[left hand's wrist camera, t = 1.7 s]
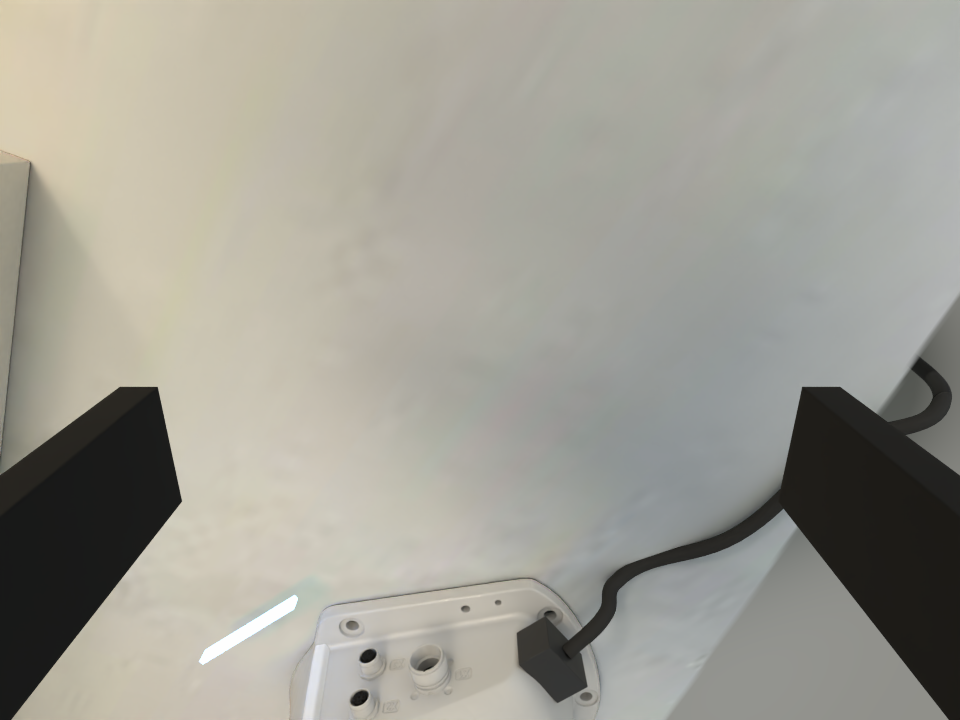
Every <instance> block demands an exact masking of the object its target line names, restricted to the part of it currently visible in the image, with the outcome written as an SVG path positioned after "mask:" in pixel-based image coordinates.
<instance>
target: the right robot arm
mask: <svg viewBox="0 0 960 720" xmlns="http://www.w3.org/2000/svg"><path fill="white" fill-rule="evenodd" d="M910 369H911V370H912V371H913V372H915V373H916V374H917V375H918V376H919V377H920V378H922V379H923V380H924V381H925V382H926V383H927V385H928V386H929V387H930V389H931V391H932V395H933V399H932V401H931V403H930V405H929V406H928V407H927V408H926V409H925V410H924V411H923V412H921V413H920V414H918V415H915V416H912V417H909V418H905V419H901V420H897V421H892V422H888V423H889V424H891V425H892V426H893V427H895V428H896V429H898V430H899V431H900V432H902V433H903V434H904V435H907V434H911V433H915V432H918V431H921V430H924V429H927V428H929V427H931V426H933V425H935V424H936V423H938V422H939V421H940V420H942V418H943V417H944V416H945V415H946V414H947V412H948V410H949V408H950V405H951V400H952V392H951V389H950V386H949V385H948V383H947V382H946V380H945V379H944V378H943V377H942V376H941V375H940V374H939V373H938V372H937V371H936V370H935V369H934V368H933V367H932V366H930V365H929V364H928V363H927V362H926V361H924V360H923V359H922V358H921V357H919V356H918V355H917V356H916V358H915V360H914V361H913V363H912V365H911V366H910ZM780 490H781V489H780ZM780 490H779V491H778V492H777V493H776V494H775V495H774V496H773V497H772V498H771V499H770V500H769V501H768V502H767V503H765V504H764V505H763V506H762V507H761V508H760V509H759V510H757V511H756V512H755V513H754V514H753V515H751V516H750V517H749V518H747V519H746V520H744V521H743V522H742V523H740V524H738V525H737V526H735V527H734V528H732V529H730V530H728V531H726V532H724V533H722V534H720V535H718V536H715V537H713V538H710V539H707V540H704V541H701V542H698V543H694V544H690V545H686V546H682V547H677V548H674V549H672V550H669V551H666V552H663V553H660V554H657V555H654V556H651V557H648V558H645V559H642V560H639V561H636V562H633V563H631V564H628V565H626V566H624V567H623V568H621V569H620V570H618V571H617V572H616V573H615V574H614V575H612V576H611V577H610V578H609V579H608V580H607V581H606V583H605V585H604V587H603V591H602V604H601V607H600V609H599V611H598V612H597V614H596V615H595V616H594V617H593V619H592V620H591V621H590V622H589V623H588V624H587V625H586V626H585V627H583V628H582V627H581V625H580V623H579V622H578V620H577V618H576V617H575V615H574V614H573V613H572V611H571V610H570V609H569V607H568V606H567V605H566V604H565V603H564V602H563V601H562V600H561V598H560V597H559V596H557V595H556V594H555V593H554V592H553V591H551V590H550V589H549V588H547V587H546V586H544V585H542V584H541V583H539V582H537V581H535V580H533V579H517V580H509V581H502V582H495V583H488V584H481V585H474V586H466V587H459V588H452V589H445V590H438V591H431V592H424V593H417V594H410V595H403V596H396V597H389V598H382V599H375V600H368V601H361V602H354V603H347V604H340V605H334V606H330V607H328V608H326V609H325V610H323V612H322V613H321V615H320V617H319V620H318V624H317V629H316V635H315V641H314V643H313V645H312V646H311V648H310V649H309V650H308V652H307V653H306V654H305V655H304V657H303V658H302V659H301V660H300V662H299V663H298V665H297V667H296V669H295V671H294V673H293V676H292V679H291V683H290V717H289V720H594V719H595V717H596V714H597V712H598V708H599V703H600V683H599V674H598V668H597V664H596V660H595V657H594V654H593V652H592V649H591V646H590V643H591V642H592V641H593V640H594V639H595V638H596V637H597V636H598V635H599V634H600V633H601V632H602V631H603V630H604V629H605V628H606V627H607V625H608V624H609V622H610V621H611V619H612V618H613V616H614V614H615V611H616V604H617V592H618V590H619V589H620V588H621V587H622V586H623V585H624V584H625V583H627V582H628V581H629V580H631V579H632V578H634V577H635V576H637V575H639V574H641V573H643V572H645V571H647V570H650V569H653V568H656V567H660V566H663V565H667V564H671V563H676V562H681V561H685V560H690V559H694V558H698V557H702V556H706V555H709V554H712V553H715V552H718V551H721V550H723V549H726V548H728V547H730V546H732V545H734V544H736V543H738V542H740V541H742V540H743V539H745V538H747V537H748V536H750V535H751V534H753V533H754V532H756V531H757V530H758V529H760V528H761V527H763V526H764V525H765V524H766V523H768V522H769V521H770V520H771V519H773V518H774V517H775V516H776V515H777V514H778V513H779V512H780V511H781V510H782V509H784V508H783V507H782V506H781V505H780V503H779V502H778V499H779V495H780ZM297 600H298V598H297V597H296V596H295V595H294V596H292V597H291V598H289V599H288V600H286V601H284V602H283V603H281V604H279V605H278V606H276V607H275V608H273V609H271V610H270V611H268V612H266V613H265V614H263V615H261V616H260V617H258V618H257V619H255V620H253V621H252V622H250V623H248V624H247V625H245V626H244V627H242V628H240V629H239V630H237V631H235V632H234V633H232V634H230V635H229V636H227V637H226V638H224V639H222V640H221V641H219V642H217V643H216V644H214V645H213V646H211V647H209V648H208V649H206V650H205V651H204V653H203V655H202V657H201V659H200V661H199V662H201V663H202V664H204V663H206V662H208V661H209V660H211V659H213V658H214V657H216V656H217V655H219V654H221V653H222V652H224V651H226V650H227V649H229V648H231V647H232V646H234V645H236V644H237V643H239V642H241V641H242V640H244V639H245V638H247V637H249V636H250V635H252V634H254V633H255V632H257V631H259V630H260V629H262V628H264V627H265V626H267V625H269V624H270V623H272V622H273V621H275V620H277V619H278V618H280V617H282V616H283V615H285V614H287V613H288V612H290V611H292V610H293V609H294V608H295V605H296V602H297ZM546 611H552V612H546ZM352 621H356V622H352Z"/></svg>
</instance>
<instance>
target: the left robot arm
mask: <svg viewBox="0 0 960 720" xmlns="http://www.w3.org/2000/svg"><path fill="white" fill-rule="evenodd" d="M181 502H182V499H181V495H180V490H179V485H178V480H177V476H176V471H175V466H174V462H173V457H172V452H171V448H170V443H169V438H168V433H167V429H166V424H165V419H164V415H163V410H162V405H161V401H160V396H159V391H158V387H119V388H118V389H117V390H115V391H114V392H112V393H111V394H110V395H108V396H107V397H106V398H104V399H103V400H102V401H100V402H99V403H98V404H96V405H95V406H94V407H92V408H91V409H90V410H88V411H87V412H85V413H84V414H83V415H81V416H80V417H79V418H77V419H76V420H75V421H73V422H72V423H71V424H69V425H68V426H67V427H65V428H64V429H62V430H61V431H60V432H58V433H57V434H56V435H54V436H53V437H52V438H50V439H49V440H48V441H46V442H45V443H44V444H42V445H41V446H39V447H38V448H37V449H35V450H34V451H33V452H31V453H30V454H29V455H27V456H26V457H25V458H23V459H22V460H21V461H19V462H18V463H17V464H15V465H14V466H12V467H11V468H10V469H8V470H7V471H6V472H4V473H3V474H2V475H0V720H11V719H12V718H13V717H14V715H15V714H16V713H17V712H18V710H19V709H20V708H21V706H22V705H23V704H24V703H25V701H26V700H27V699H28V697H29V696H30V695H31V694H32V692H33V691H34V690H35V689H36V687H37V686H38V685H39V683H40V682H41V681H42V680H43V678H44V677H45V676H46V674H47V673H48V672H49V671H50V669H51V668H52V667H53V666H54V664H55V663H56V662H57V660H58V659H59V658H60V657H61V655H62V654H63V653H64V651H65V650H66V649H67V648H68V646H69V645H70V644H71V643H72V641H73V640H74V639H75V637H76V636H77V635H78V634H79V632H80V631H81V630H82V628H83V627H84V626H85V625H86V623H87V622H88V621H89V620H90V618H91V617H92V616H93V614H94V613H95V612H96V611H97V609H98V608H99V607H100V605H101V604H102V603H103V602H104V600H105V599H106V598H107V597H108V595H109V594H110V593H111V591H112V590H113V589H114V588H115V586H116V585H117V584H118V582H119V581H120V580H121V579H122V577H123V576H124V575H125V574H126V572H127V571H128V570H129V568H130V567H131V566H132V565H133V563H134V562H135V561H136V559H137V558H138V557H139V556H140V554H141V553H142V552H143V551H144V549H145V548H146V547H147V545H148V544H149V543H150V542H151V540H152V539H153V538H154V536H155V535H156V534H157V533H158V531H159V530H160V529H161V528H162V526H163V525H164V524H165V522H166V521H167V520H168V519H169V517H170V516H171V515H172V513H173V512H174V511H175V510H176V508H177V507H178V506H179V505H180V503H181ZM778 502H779V503H780V505H781V506H782V507H783V508H784V510H785V511H786V512H787V514H788V515H789V516H790V517H791V519H792V520H793V521H794V522H795V524H796V525H797V526H798V528H799V529H800V530H801V531H802V533H803V534H804V535H805V536H806V538H807V539H808V540H809V542H810V543H811V544H812V545H813V547H814V548H815V549H816V551H817V552H818V553H819V554H820V556H821V557H822V558H823V559H824V561H825V562H826V563H827V565H828V566H829V567H830V568H831V570H832V571H833V572H834V574H835V575H836V576H837V577H838V579H839V580H840V581H841V582H842V584H843V585H844V586H845V588H846V589H847V590H848V591H849V593H850V594H851V595H852V597H853V598H854V599H855V600H856V602H857V603H858V604H859V605H860V607H861V608H862V609H863V611H864V612H865V613H866V614H867V616H868V617H869V618H870V620H871V621H872V622H873V623H874V625H875V626H876V627H877V628H878V630H879V631H880V632H881V634H882V635H883V636H884V637H885V639H886V640H887V641H888V643H889V644H890V645H891V646H892V648H893V649H894V650H895V651H896V653H897V654H898V655H899V657H900V658H901V659H902V660H903V662H904V663H905V664H906V665H907V667H908V668H909V669H910V671H911V672H912V673H913V674H914V676H915V677H916V678H917V680H918V681H919V682H920V683H921V685H922V686H923V687H924V689H925V690H926V691H927V692H928V694H929V695H930V696H931V697H932V699H933V700H934V701H935V703H936V704H937V705H938V706H939V708H940V709H941V710H942V712H943V713H944V714H945V715H946V717H947V718H948V719H949V720H960V475H958V474H957V473H956V472H954V471H953V470H952V469H950V468H949V467H948V466H946V465H945V464H943V463H942V462H941V461H939V460H938V459H937V458H935V457H934V456H933V455H931V454H930V453H929V452H927V451H926V450H925V449H923V448H922V447H920V446H919V445H918V444H916V443H915V442H914V441H912V440H911V439H910V438H908V437H907V436H906V435H904V434H903V433H902V432H900V431H899V430H898V429H896V428H895V427H893V426H892V425H891V424H889V423H888V422H887V421H885V420H884V419H883V418H881V417H880V416H879V415H877V414H876V413H875V412H873V411H872V410H870V409H869V408H868V407H866V406H865V405H864V404H862V403H861V402H860V401H858V400H857V399H856V398H854V397H853V396H852V395H850V394H849V393H848V392H846V391H845V390H843V389H842V388H841V387H802V391H801V396H800V401H799V405H798V410H797V415H796V419H795V424H794V429H793V433H792V438H791V443H790V448H789V452H788V457H787V462H786V466H785V471H784V476H783V480H782V485H781V490H780V495H779V499H778Z"/></svg>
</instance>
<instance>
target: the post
mask: <svg viewBox="0 0 960 720" xmlns="http://www.w3.org/2000/svg"><path fill="white" fill-rule="evenodd" d="M29 168H30V161H28V160H25V159H22V158H20V157H17V156H14V155H11V154H9V153H6V152H3V151H0V454H1V444H2V434H3V424H4V415H5V405H6V395H7V385H8V375H9V365H10V356H11V346H12V336H13V326H14V316H15V306H16V296H17V287H18V277H19V267H20V257H21V247H22V237H23V228H24V218H25V208H26V198H27V188H28V178H29Z"/></svg>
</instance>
